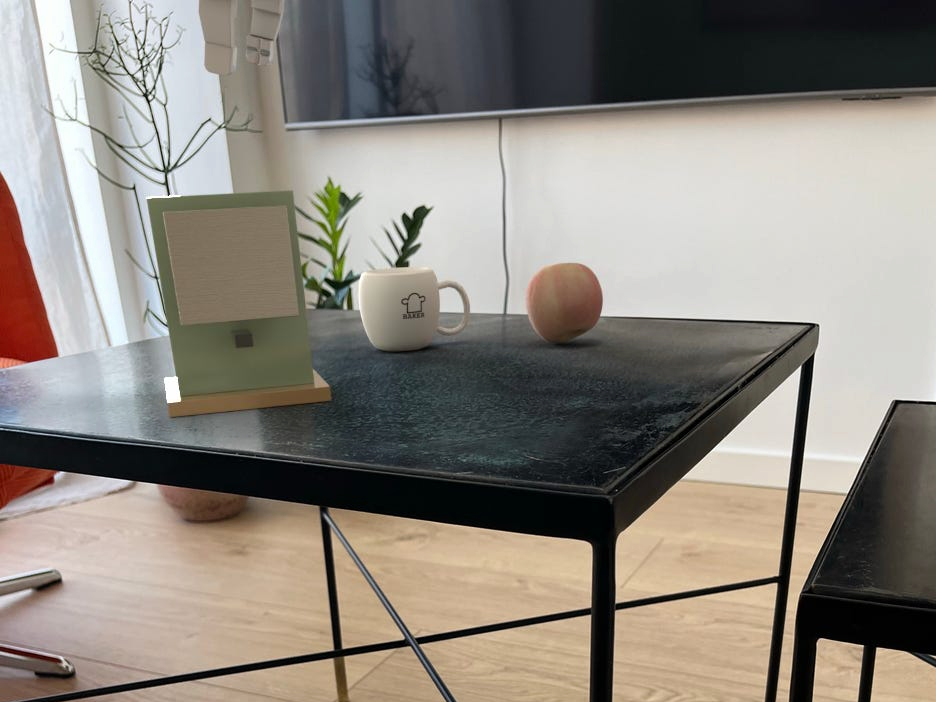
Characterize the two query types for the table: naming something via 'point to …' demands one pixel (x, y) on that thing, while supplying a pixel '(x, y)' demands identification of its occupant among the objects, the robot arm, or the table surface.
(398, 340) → the mug
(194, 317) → the push plate
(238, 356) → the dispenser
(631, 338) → the table surface
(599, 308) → the apple
